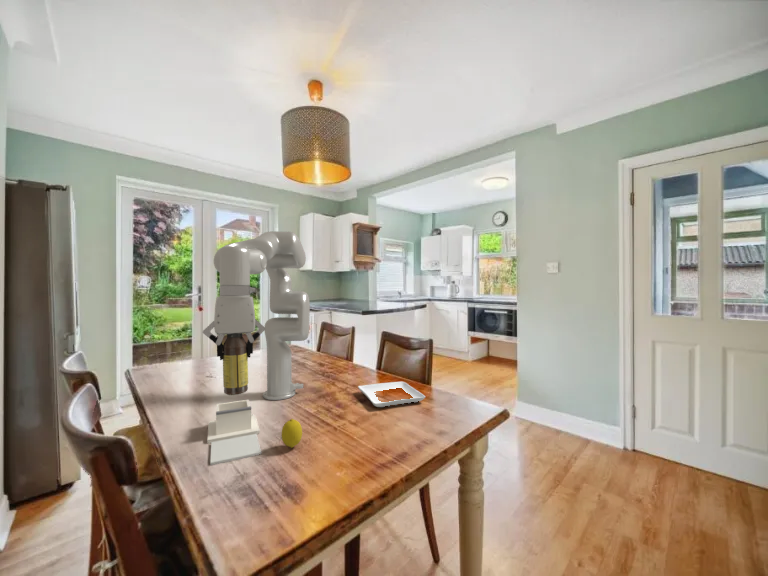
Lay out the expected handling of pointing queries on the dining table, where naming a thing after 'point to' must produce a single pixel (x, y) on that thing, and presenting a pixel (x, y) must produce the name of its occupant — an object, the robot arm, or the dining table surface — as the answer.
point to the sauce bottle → (235, 365)
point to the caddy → (232, 421)
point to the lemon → (291, 433)
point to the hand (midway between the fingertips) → (235, 357)
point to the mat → (234, 449)
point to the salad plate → (372, 388)
